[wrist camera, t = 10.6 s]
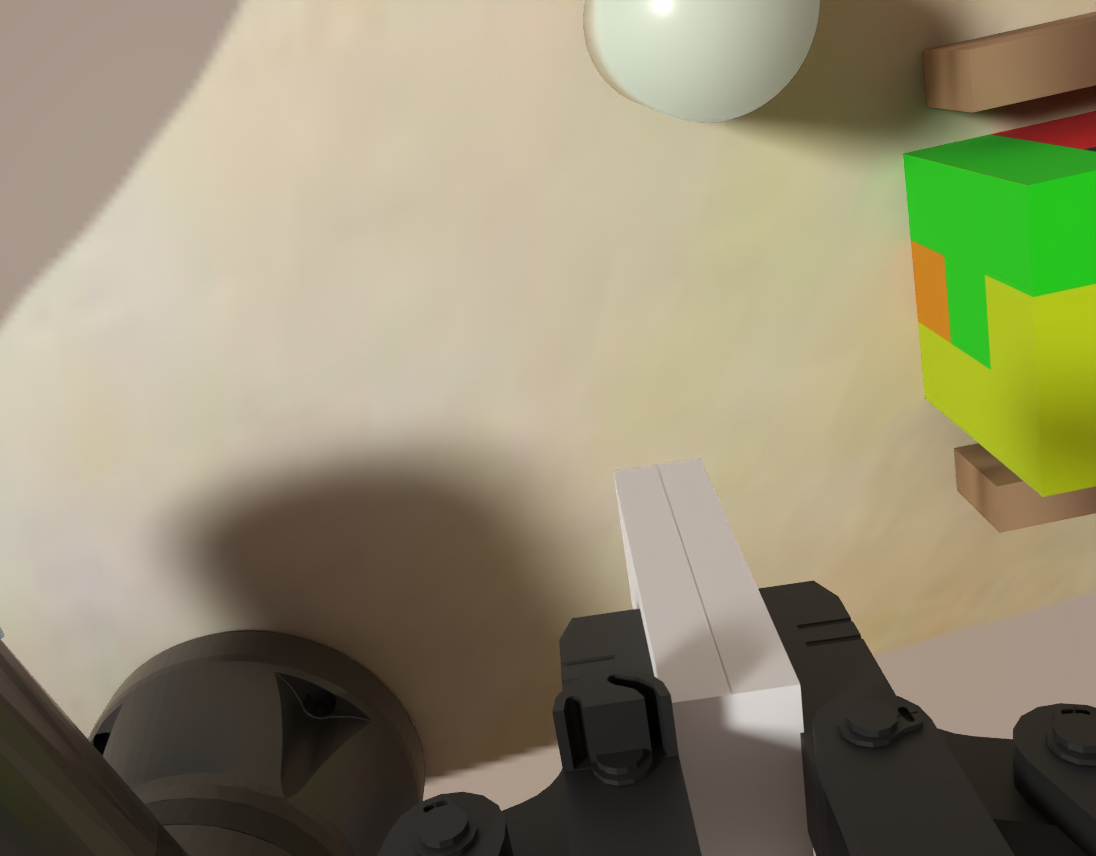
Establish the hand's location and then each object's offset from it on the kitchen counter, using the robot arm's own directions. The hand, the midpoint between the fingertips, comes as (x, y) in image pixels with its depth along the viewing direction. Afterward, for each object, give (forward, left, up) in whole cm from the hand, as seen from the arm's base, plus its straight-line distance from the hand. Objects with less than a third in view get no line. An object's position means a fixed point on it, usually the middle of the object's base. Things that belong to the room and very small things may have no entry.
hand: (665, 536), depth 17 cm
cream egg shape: (+5, +8, -23) cm, 25 cm away
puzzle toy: (+18, -3, -24) cm, 30 cm away
